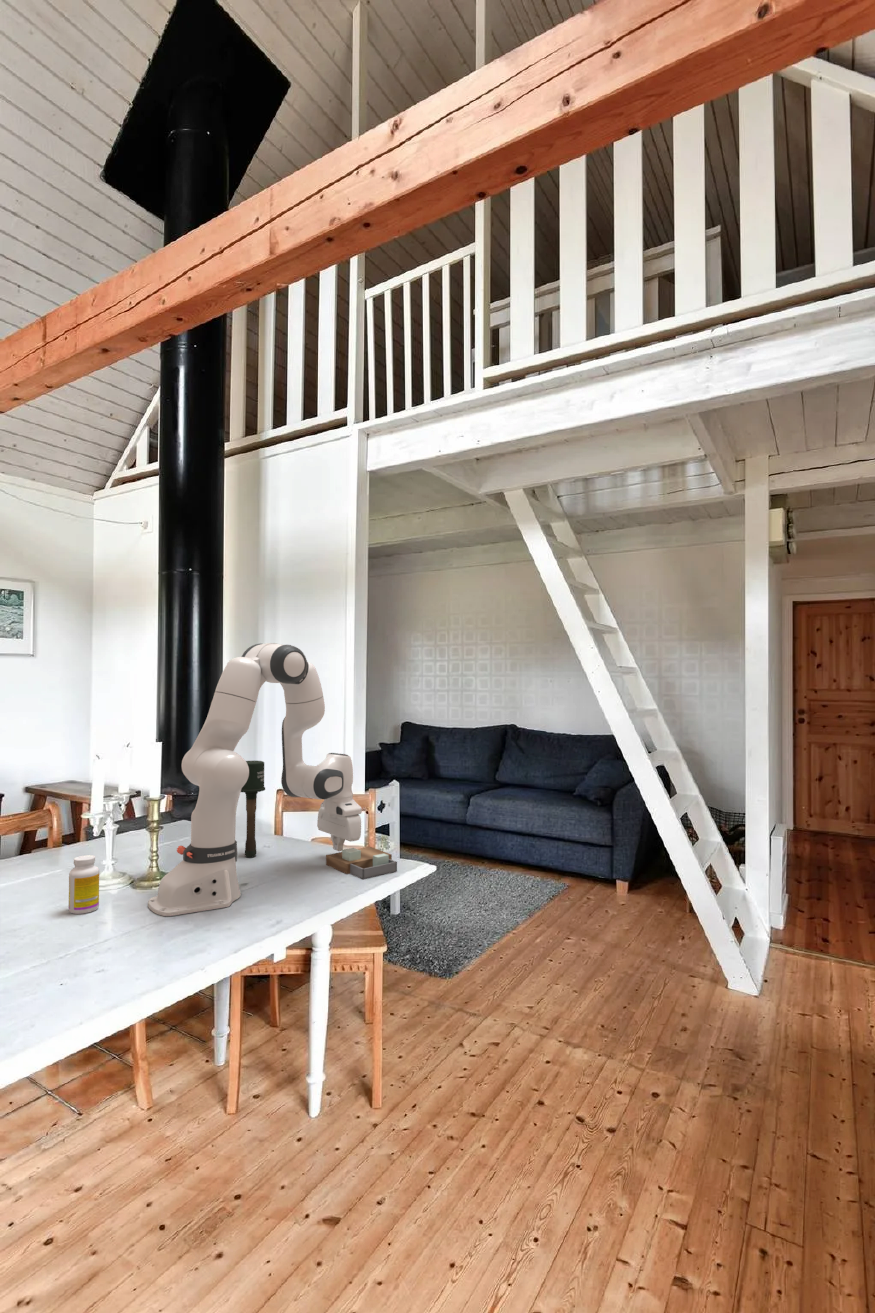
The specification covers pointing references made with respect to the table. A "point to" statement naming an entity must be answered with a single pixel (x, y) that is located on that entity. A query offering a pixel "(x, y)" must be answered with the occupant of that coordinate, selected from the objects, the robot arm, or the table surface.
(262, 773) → the potato masher grenade
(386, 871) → the tray
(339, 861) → the board
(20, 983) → the table surface
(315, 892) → the table surface
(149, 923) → the table surface
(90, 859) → the supplement bottle
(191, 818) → the robot arm
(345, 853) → the tile
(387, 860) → the tile
